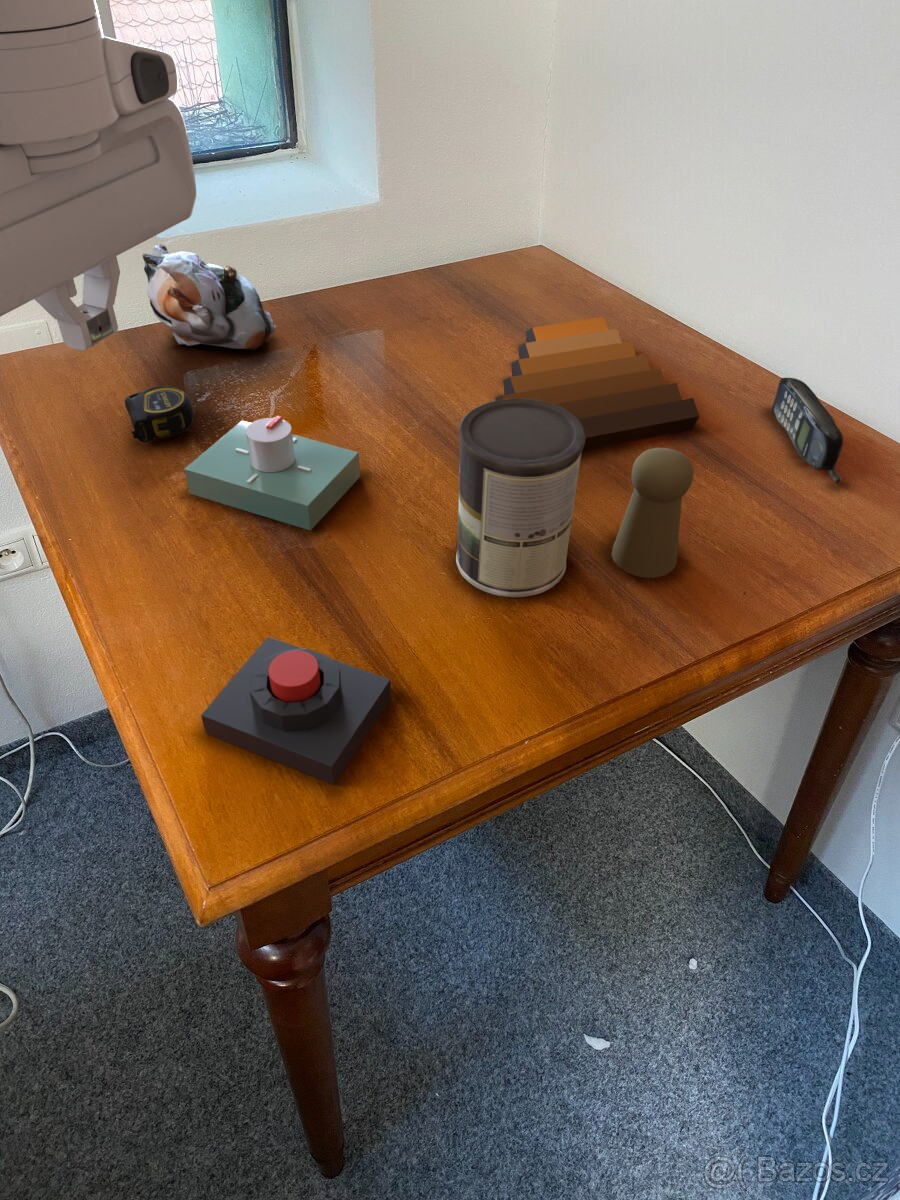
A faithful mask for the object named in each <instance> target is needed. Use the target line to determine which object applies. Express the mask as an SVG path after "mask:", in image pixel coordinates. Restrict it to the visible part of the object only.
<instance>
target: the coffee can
mask: <svg viewBox="0 0 900 1200" xmlns="http://www.w3.org/2000/svg"><path fill="white" fill-rule="evenodd" d="M458 437H459V438H458V439H459V470H458V471H459V473H458V477H459V480H458V483H459V484H458V509H457V510H458V515H457V548H456V549H457V550H456V555H455V556H456V557H455V562H456V567H457V569H458V572H459V573H460V575H461V577H462V578H464V580H465V581H466V582H467V583H468V584H470V585H472V586H473V587H474V588H476V589H478V590H480V591H481V592H484V593H487V594H489V595H494V596H496V597H503V598H527V597H531V596H536V595H539V594H542V593H544V592H547V591H549V590H550V589H552V588H554V586H555V585H557V584H558V583H559V582H560V581H561V579H562V578H563V577H564V574H565V573H566V569H567V558H568V549H569V543H570V537H571V529H572V523H573V522H572V521H573V516H574V515H573V514H574V507H575V501H576V495H577V488H578V480H579V475H580V466H581V458H582V452H583V451H582V450H583V448H584V444H585V430H584V427H583V426H582V424H581V423H580V421H579V420H578V419H577V418H576V417H575V416H574V415H573V414H571V413H570V412H568V411H567V410H565V409H563V408H561V407H559V406H556V405H554V404H551V403H547V402H543V401H539V400H533V399H522V398H521V399H514V398H513V399H502V400H496V401H495V400H492V401H489V402H485V403H483V404H480V405H477V406H476V407H474V408H473V409H471V410H470V411H468V412H467V413H466V414H465V415H464V416H463V417H462V419H461V421H460V424H459V428H458Z"/></svg>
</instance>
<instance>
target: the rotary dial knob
mask: <svg viewBox="0 0 900 1200" xmlns="http://www.w3.org/2000/svg"><path fill="white" fill-rule="evenodd" d="M250 423H251V424H249V425H248V426H247V428H246V431H245V432H246V439H247V445H248V451H249V457H250V463H251V465H252V466H253V467H254V468H255V469H256V470H259V471H262V472H278V471H282V470H285V469H287V468H289V467H290V466H291V465H292V464H293V463H294V461H295V454H294V445H293V437H292V434H293V430H292V426H291V424H290V423H289V421H287V420H285V419H283V416H280V415H276V416H275V417H264V418H259V419H256V420H254V421H253V422H250Z"/></svg>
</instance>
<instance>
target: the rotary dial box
mask: <svg viewBox="0 0 900 1200" xmlns="http://www.w3.org/2000/svg"><path fill="white" fill-rule="evenodd" d="M251 423H252V422H249V421H245V420H241V421H240V422H238V423H237V424H236V425H235V426H233V428H231V429H230V430H229V431H228V432H226V433H225V434H224V435H223V436H222V437H220V438H219V439H218V440H216V442H214V444H212V445H211V446H210V447H208V448H207V449H206V450H204V452H203V453H201V454H200V455H199V456H197V457H196V458H194V460H193V461H192V462H190V463H189V464H188V465H187V466H186V467H185V468H183V469H184V470H183V471H184V475H185V479H186V483H187V487H188V492H189V494H190V495H193V496H196V497H200V498H202V499H205V500H209V501H212V502H215V503H219V504H222V505H225V506H229V507H232V508H234V509H237V510H242V511H245V512H249V513H251V514H255V515H258V516H261V517H264V518H268V519H270V520H274V521H276V522H277V521H278V522H280V523H284V524H287V525H291V526H294V527H296V528H300V529H304V530H307V531H310V532H311V531H312V530H313V529H314V528H315V527H316V526H317V525H318V523H319V522H321V520H322V519H323V518H324V517H325V516H326V515H327V514H328V513H329V511H330V510H331V509H333V507H334V506H335V505H336V504H337V502H339V501H340V499H342V497H343V496H344V495H345V494H346V493H347V492H348V491H349V490H350V489H351V488H352V486H353V485H354V484H355V483H356V482H357V481H358V480H359V479H360V478H361V466H360V465H361V463H360V451H355V450H351V449H348V448H344V447H340V446H337V445H333V444H331V443H330V444H329V443H326V442H322V441H319V440H316V439H315V440H314V439H311V438H308V437H304V436H300V435H296V434H293V433H292V437H293V445H294V454H295V461H294V463H293V464H292V465H291V466H290V467H289V468H287V469H285V470H282V471H278V472H262V471H259V470H256V469H255V468H254V467H253V466H252V465H251V463H250V457H249V451H248V445H247V439H246V432H245V431H246V428H247V426H248V425H249V424H251Z"/></svg>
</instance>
